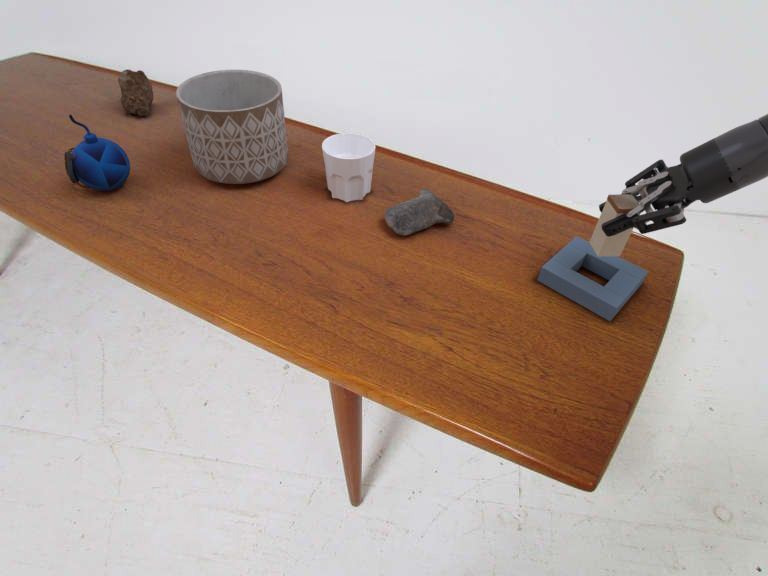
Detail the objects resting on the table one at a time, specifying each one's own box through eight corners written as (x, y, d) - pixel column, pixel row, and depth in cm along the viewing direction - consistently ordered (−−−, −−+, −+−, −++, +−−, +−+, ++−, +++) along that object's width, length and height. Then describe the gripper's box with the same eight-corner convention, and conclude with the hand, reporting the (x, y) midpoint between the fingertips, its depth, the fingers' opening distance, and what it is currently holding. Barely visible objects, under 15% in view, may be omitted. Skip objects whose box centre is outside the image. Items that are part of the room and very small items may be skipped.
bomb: (73, 181, 98) (40, 108, 88) (131, 169, 103) (106, 97, 92) (79, 207, 92) (44, 131, 82) (141, 193, 97) (115, 119, 86)
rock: (142, 120, 118) (122, 76, 112) (124, 119, 121) (103, 77, 114) (170, 104, 124) (152, 62, 118) (152, 104, 127) (134, 63, 121)
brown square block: (620, 256, 77) (643, 208, 71) (597, 257, 77) (618, 209, 71) (610, 241, 80) (632, 194, 74) (588, 242, 80) (608, 194, 74)
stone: (380, 223, 97) (400, 252, 90) (374, 202, 94) (394, 230, 87) (435, 199, 99) (459, 225, 92) (431, 177, 95) (456, 203, 88)
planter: (177, 182, 100) (154, 102, 88) (221, 138, 114) (207, 64, 102) (267, 198, 97) (256, 117, 86) (302, 151, 111) (296, 76, 99)
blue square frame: (641, 284, 84) (648, 271, 82) (609, 321, 77) (617, 308, 75) (571, 248, 90) (576, 235, 88) (537, 280, 83) (541, 267, 81)
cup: (380, 200, 98) (382, 155, 92) (331, 208, 96) (329, 162, 89) (365, 174, 105) (366, 130, 98) (318, 181, 102) (316, 136, 96)
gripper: (705, 116, 69) (587, 179, 79) (732, 168, 59) (593, 232, 69) (726, 157, 72) (610, 212, 82) (756, 213, 62) (619, 267, 72)
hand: (603, 221), depth 75 cm, fingers closed on brown square block, 4 cm apart
